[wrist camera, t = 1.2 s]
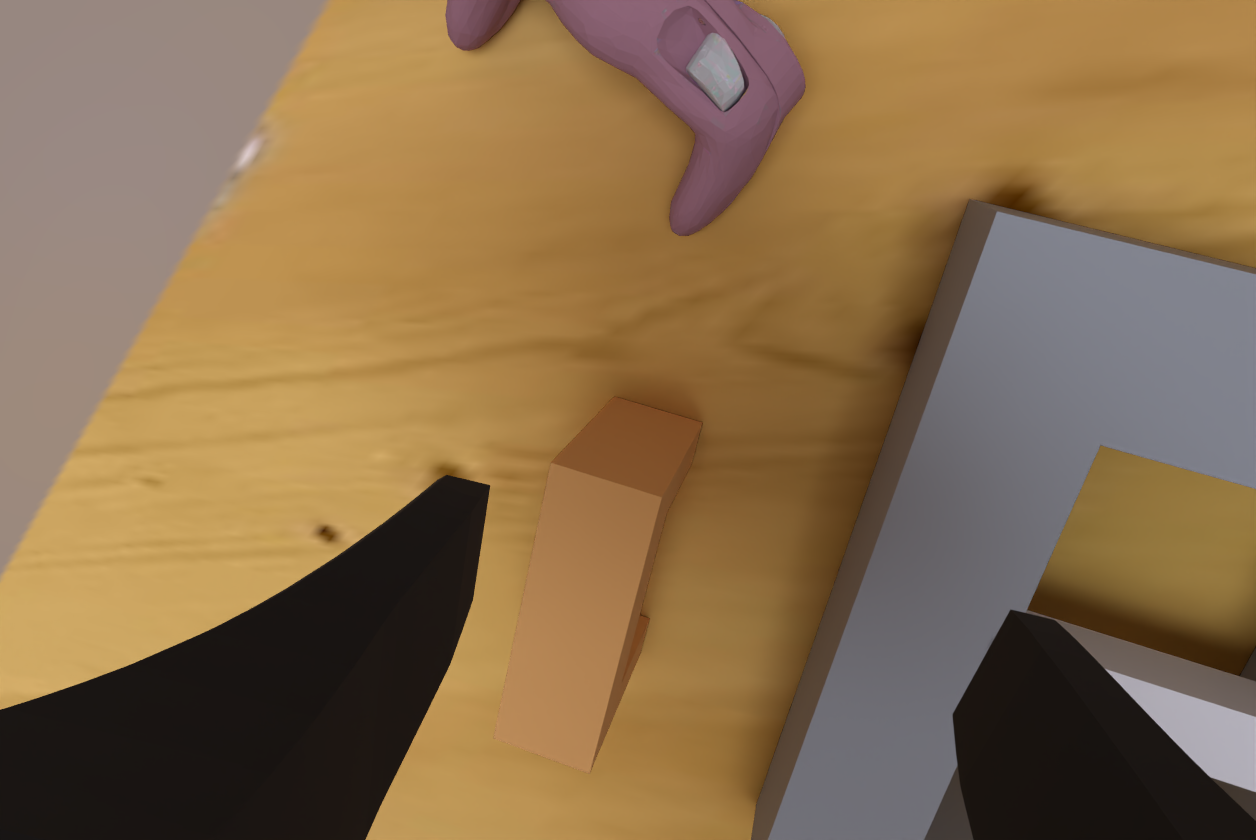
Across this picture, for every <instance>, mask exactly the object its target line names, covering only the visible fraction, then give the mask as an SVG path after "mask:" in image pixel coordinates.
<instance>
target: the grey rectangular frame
mask: <svg viewBox="0 0 1256 840" xmlns="http://www.w3.org/2000/svg"><path fill="white" fill-rule="evenodd" d="M1100 445H1101V446H1105V447H1108V448H1112V449H1116V450H1119V451H1123V452H1126V453H1130V454H1133V455H1137V456H1141V457H1144V458H1148V459H1151V460H1155V461H1158V462H1162V463H1166V464H1169V465H1173V466H1176V467H1180V468H1183V469H1187V470H1191V471H1194V472H1198V473H1201V474H1205V475H1208V476H1212V477H1216V478H1219V479H1223V480H1226V481H1230V482H1233V483H1237V484H1241V485H1244V486H1248V487H1251V488H1255V489H1256V268H1253V267H1249V266H1244V265H1240V264H1236V263H1232V262H1228V261H1224V260H1220V259H1216V258H1212V257H1207V256H1203V255H1199V254H1195V253H1191V252H1187V251H1183V250H1179V249H1174V248H1170V247H1166V246H1162V245H1158V244H1154V243H1150V242H1146V241H1141V240H1137V239H1133V238H1129V237H1125V236H1121V235H1117V234H1113V233H1108V232H1104V231H1100V230H1096V229H1092V228H1088V227H1084V226H1080V225H1076V224H1071V223H1067V222H1063V221H1059V220H1055V219H1051V218H1047V217H1043V216H1038V215H1034V214H1030V213H1026V212H1022V211H1018V210H1014V209H1010V208H1005V207H1001V206H997V205H993V204H989V203H985V202H981V201H977V200H972V199H969V202H968V205H967V208H966V211H965V213H964V216H963V219H962V222H961V225H960V228H959V231H958V233H957V236H956V239H955V242H954V245H953V248H952V250H951V253H950V256H949V259H948V262H947V265H946V267H945V270H944V273H943V276H942V279H941V282H940V284H939V287H938V290H937V293H936V296H935V299H934V302H933V304H932V307H931V310H930V313H929V316H928V319H927V321H926V324H925V327H924V330H923V333H922V336H921V338H920V341H919V344H918V347H917V350H916V353H915V356H914V358H913V361H912V364H911V367H910V370H909V373H908V375H907V378H906V381H905V384H904V387H903V390H902V392H901V395H900V398H899V401H898V404H897V407H896V409H895V412H894V415H893V418H892V421H891V424H890V427H889V429H888V432H887V435H886V438H885V441H884V444H883V446H882V449H881V452H880V455H879V458H878V461H877V463H876V466H875V469H874V472H873V475H872V478H871V481H870V483H869V486H868V489H867V492H866V495H865V498H864V500H863V503H862V506H861V509H860V512H859V515H858V517H857V520H856V523H855V526H854V529H853V532H852V534H851V537H850V540H849V543H848V546H847V549H846V552H845V554H844V557H843V560H842V563H841V566H840V569H839V571H838V574H837V577H836V580H835V583H834V586H833V588H832V591H831V594H830V597H829V600H828V603H827V606H826V608H825V611H824V614H823V617H822V620H821V623H820V625H819V628H818V631H817V634H816V637H815V640H814V642H813V645H812V648H811V651H810V654H809V657H808V660H807V662H806V665H805V668H804V671H803V674H802V677H801V679H800V682H799V685H798V688H797V691H796V694H795V696H794V699H793V702H792V705H791V708H790V711H789V713H788V716H787V719H786V722H785V725H784V728H783V731H782V733H781V736H780V739H779V742H778V745H777V748H776V750H775V753H774V756H773V759H772V762H771V765H770V767H769V770H768V773H767V776H766V779H765V782H764V785H763V787H762V790H761V793H760V796H759V799H758V802H757V804H756V810H755V817H754V823H753V830H752V837H751V840H973V836H972V832H971V828H970V824H969V820H968V816H967V812H966V808H965V804H964V800H963V795H962V791H961V787H960V780H959V772H958V765H957V757H956V748H955V737H954V727H953V716H952V714H953V712H954V710H955V709H956V707H957V705H958V703H959V701H960V700H961V698H962V696H963V694H964V692H965V691H966V689H967V687H968V685H969V683H970V682H971V680H972V678H973V676H974V674H975V673H976V671H977V669H978V667H979V665H980V664H981V662H982V660H983V658H984V656H985V654H986V653H987V651H988V649H989V647H990V645H991V644H992V642H993V640H994V638H995V636H996V635H997V633H998V631H999V629H1000V627H1001V626H1002V624H1003V622H1004V620H1005V618H1006V617H1007V615H1008V613H1009V611H1010V609H1011V610H1016V611H1020V612H1024V613H1028V614H1032V615H1037V616H1041V617H1045V618H1049V619H1053V620H1056V621H1057V622H1058V623H1059V624H1060V625H1061V626H1062V627H1063V628H1064V629H1066V630H1067V631H1068V632H1069V633H1070V634H1071V635H1072V636H1073V637H1074V638H1075V639H1076V640H1077V641H1078V642H1079V643H1080V644H1081V645H1082V646H1083V647H1084V648H1085V649H1086V650H1087V651H1088V652H1089V653H1090V654H1091V655H1092V656H1093V657H1094V658H1095V659H1096V660H1097V661H1098V662H1099V663H1100V664H1101V665H1102V666H1103V668H1104V669H1105V670H1106V671H1107V672H1108V673H1109V674H1110V675H1111V676H1112V677H1113V678H1114V679H1115V680H1116V681H1117V682H1118V683H1119V684H1120V685H1121V686H1122V687H1123V688H1124V690H1125V691H1126V692H1127V693H1128V694H1129V695H1130V696H1131V697H1132V698H1133V699H1134V700H1135V701H1136V702H1137V703H1138V704H1139V705H1140V706H1141V707H1142V708H1143V709H1144V711H1145V712H1146V713H1147V714H1148V715H1149V716H1150V717H1151V718H1152V719H1153V720H1154V721H1155V722H1156V723H1157V724H1158V725H1159V726H1160V727H1161V728H1162V729H1163V730H1164V731H1165V732H1166V733H1167V734H1168V735H1169V736H1170V737H1171V739H1172V740H1173V741H1174V742H1175V743H1176V744H1177V745H1178V746H1179V747H1180V748H1181V749H1182V750H1183V751H1184V752H1185V753H1186V754H1187V755H1188V756H1189V757H1190V758H1191V759H1192V760H1193V761H1194V762H1195V763H1196V764H1197V765H1198V766H1199V767H1200V768H1201V769H1202V770H1203V771H1204V772H1205V773H1206V774H1207V775H1208V776H1209V777H1210V778H1211V779H1212V780H1213V781H1214V782H1215V783H1217V784H1218V785H1219V786H1220V787H1221V788H1222V789H1223V790H1224V791H1225V792H1226V793H1227V794H1228V795H1229V796H1230V797H1231V798H1232V799H1233V800H1234V801H1235V802H1237V803H1238V804H1239V805H1240V806H1241V807H1242V808H1243V809H1244V810H1245V811H1246V812H1247V813H1248V814H1249V815H1250V816H1251V817H1252V818H1253V819H1254V820H1255V821H1256V648H1255V650H1254V651H1253V653H1252V655H1251V657H1250V659H1249V660H1248V662H1247V664H1246V666H1245V667H1244V669H1243V671H1242V673H1241V674H1240V676H1237V675H1233V674H1230V673H1227V672H1224V671H1221V670H1217V669H1214V668H1211V667H1208V666H1205V665H1201V664H1198V663H1195V662H1192V661H1189V660H1185V659H1182V658H1179V657H1176V656H1173V655H1169V654H1166V653H1163V652H1160V651H1157V650H1153V649H1150V648H1147V647H1144V646H1141V645H1137V644H1134V643H1131V642H1128V641H1125V640H1122V639H1118V638H1115V637H1112V636H1109V635H1106V634H1102V633H1099V632H1096V631H1093V630H1090V629H1086V628H1083V627H1080V626H1077V625H1074V624H1070V623H1067V622H1064V621H1061V620H1058V619H1054V618H1051V617H1048V616H1045V615H1042V614H1038V613H1035V612H1032V611H1029V610H1027V608H1028V606H1029V604H1030V602H1031V599H1032V597H1033V595H1034V593H1035V591H1036V588H1037V586H1038V584H1039V582H1040V579H1041V577H1042V575H1043V573H1044V570H1045V568H1046V566H1047V564H1048V561H1049V559H1050V557H1051V555H1052V553H1053V550H1054V548H1055V546H1056V544H1057V541H1058V539H1059V537H1060V535H1061V532H1062V530H1063V528H1064V526H1065V523H1066V521H1067V519H1068V517H1069V514H1070V512H1071V510H1072V508H1073V506H1074V503H1075V501H1076V499H1077V497H1078V494H1079V492H1080V490H1081V488H1082V485H1083V483H1084V481H1085V479H1086V476H1087V474H1088V472H1089V470H1090V467H1091V465H1092V463H1093V461H1094V459H1095V456H1096V454H1097V452H1098V450H1099V447H1100Z"/></svg>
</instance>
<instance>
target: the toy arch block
mask: <svg viewBox="0 0 1256 840" xmlns="http://www.w3.org/2000/svg"><path fill="white" fill-rule="evenodd" d="M702 424H703V423H702V422H699V421H695V420H692V419H689V418H685V417H682V416H679V415H675V414H672V413H668V412H665V411H662V410H658V409H655V408H652V407H648V406H645V405H641V404H638V403H635V402H631V401H628V400H625V399H621V398H618V397H615V396H614V397H613V398H612V399H611V400H610V401H609V403H608V404H607V405H606V406H605V407H604V408H603V409H602V410H601V411H600V412H599V413H598V414H597V415H596V416H595V417H594V418H593V419H592V420H591V421H590V422H589V423H588V424H587V425H586V426H585V427H584V429H583V430H582V431H581V432H580V433H579V434H578V435H577V436H576V437H575V438H574V439H573V440H572V441H571V442H570V443H569V444H568V445H567V446H566V447H565V448H564V449H563V450H562V451H561V452H560V454H559V455H558V456H557V457H556V458H555V459H554V460H553V461H552V462H551V464H550V469H549V474H548V478H547V483H546V488H545V493H544V498H543V502H542V507H541V512H540V517H539V522H538V526H537V531H536V536H535V541H534V546H533V550H532V555H531V560H530V565H529V569H528V574H527V579H526V584H525V589H524V593H523V598H522V603H521V608H520V613H519V617H518V622H517V627H516V632H515V637H514V641H513V646H512V651H511V656H510V661H509V665H508V670H507V675H506V680H505V685H504V689H503V694H502V699H501V704H500V708H499V713H498V718H497V723H496V728H495V732H494V737H493V738H494V739H497V740H499V741H502V742H505V743H507V744H510V745H513V746H515V747H518V748H521V749H524V750H526V751H529V752H532V753H534V754H537V755H540V756H542V757H545V758H548V759H551V760H553V761H556V762H559V763H561V764H564V765H567V766H569V767H572V768H575V769H578V770H580V771H583V772H586V773H588V774H590V772H591V769H592V767H593V764H594V762H595V760H596V757H597V755H598V753H599V750H600V748H601V745H602V743H603V741H604V738H605V736H606V734H607V731H608V729H609V727H610V724H611V722H612V719H613V717H614V715H615V712H616V710H617V708H618V705H619V703H620V701H621V698H622V696H623V693H624V691H625V689H626V686H627V684H628V682H629V679H630V677H631V674H632V672H633V670H634V667H635V665H636V663H637V660H638V658H639V656H640V653H641V649H642V645H643V642H644V638H645V634H646V631H647V627H648V623H649V620H650V618H647V617H644V616H641V615H640V612H641V608H642V605H643V601H644V597H645V593H646V589H647V586H648V582H649V578H650V574H651V571H652V567H653V563H654V559H655V556H656V552H657V548H658V544H659V541H660V537H661V533H662V529H663V525H664V522H665V518H666V514H667V511H668V509H669V508H670V506H671V504H672V502H673V500H674V498H675V496H676V494H677V492H678V490H679V488H680V486H681V484H682V482H683V480H684V478H685V476H686V474H687V472H688V470H689V468H690V467H691V464H692V461H693V457H694V453H695V450H696V446H697V442H698V439H699V435H700V431H701V427H702Z"/></svg>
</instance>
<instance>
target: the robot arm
mask: <svg viewBox="0 0 1256 840" xmlns="http://www.w3.org/2000/svg"><path fill="white" fill-rule="evenodd" d="M489 490H490V485H487V484H482V483H478V482H474V481H470V480H466V479H461V478H457V477H453V476H449V475H446V476H444V477H442V478H440V479H438V480H437V481H436V482H435V483H433V484H432V485H431V486H430V487H428V488H427V489H426V490H425V491H424V492H422V493H421V494H420V495H419V496H417V497H416V498H415V499H414V500H412V501H411V502H410V503H409V504H407V505H406V506H405V507H404V508H402V509H401V510H400V511H398V512H397V513H396V514H395V515H393V516H392V517H391V518H389V519H388V520H387V521H385V522H384V523H383V524H382V525H380V526H379V527H377V528H376V529H375V530H373V531H372V532H370V533H369V534H368V535H366V536H365V537H363V538H362V539H361V540H359V541H358V542H357V543H355V544H354V545H352V546H351V547H350V548H348V549H347V550H345V551H344V552H343V553H341V554H340V555H338V556H337V557H335V558H334V559H332V560H331V561H329V562H327V563H326V564H324V565H323V566H321V567H320V568H318V569H316V570H315V571H313V572H312V573H310V574H309V575H307V576H305V577H304V578H302V579H301V580H299V581H298V582H296V583H294V584H293V585H291V586H290V587H288V588H286V589H285V590H283V591H281V592H280V593H278V594H276V595H274V596H273V597H271V598H269V599H267V600H266V601H264V602H262V603H260V604H259V605H257V606H255V607H253V608H251V609H250V610H248V611H246V612H244V613H242V614H240V615H238V616H236V617H234V618H232V619H230V620H228V621H227V622H225V623H223V624H221V625H219V626H217V627H215V628H213V629H211V630H209V631H206V632H204V633H202V634H200V635H198V636H196V637H193V638H191V639H189V640H186V641H184V642H182V643H179V644H177V645H175V646H173V647H170V648H168V649H166V650H163V651H161V652H159V653H156V654H154V655H152V656H150V657H147V658H145V659H143V660H140V661H138V662H136V663H133V664H131V665H128V666H126V667H123V668H121V669H118V670H115V671H113V672H110V673H107V674H105V675H102V676H99V677H97V678H94V679H91V680H89V681H86V682H83V683H80V684H77V685H74V686H72V687H69V688H66V689H63V690H60V691H57V692H54V693H51V694H48V695H45V696H42V697H39V698H36V699H33V700H30V701H27V702H24V703H21V704H18V705H14V706H11V707H8V708H5V709H1V710H0V840H365V839H366V837H367V835H368V833H369V830H370V828H371V826H372V824H373V821H374V819H375V817H376V815H377V812H378V810H379V808H380V806H381V804H382V802H383V799H384V797H385V795H386V793H387V791H388V789H389V787H390V785H391V783H392V781H393V779H394V777H395V775H396V773H397V771H398V769H399V767H400V765H401V763H402V761H403V759H404V757H405V755H406V753H407V751H408V749H409V747H410V745H411V743H412V741H413V739H414V737H415V735H416V733H417V731H418V729H419V727H420V725H421V723H422V721H423V719H424V717H425V715H426V713H427V711H428V709H429V707H430V704H431V702H432V700H433V698H434V696H435V694H436V692H437V690H438V688H439V686H440V684H441V682H442V680H443V678H444V676H445V674H446V672H447V670H448V667H449V665H450V663H451V660H452V658H453V655H454V652H455V649H456V647H457V644H458V641H459V638H460V635H461V633H462V630H463V627H464V624H465V621H466V618H467V615H468V612H469V610H470V607H471V604H472V601H473V596H474V589H475V582H476V576H477V569H478V563H479V556H480V549H481V543H482V536H483V530H484V523H485V516H486V510H487V503H488V497H489ZM952 716H953V727H954V737H955V748H956V757H957V765H958V772H959V780H960V787H961V791H962V795H963V800H964V804H965V808H966V812H967V816H968V820H969V824H970V828H971V832H972V836H973V840H1256V821H1255V820H1254V819H1253V818H1252V817H1251V816H1250V815H1249V814H1248V813H1247V812H1246V811H1245V810H1244V809H1243V808H1242V807H1241V806H1240V805H1239V804H1238V803H1237V802H1235V801H1234V800H1233V799H1232V798H1231V797H1230V796H1229V795H1228V794H1227V793H1226V792H1225V791H1224V790H1223V789H1222V788H1221V787H1220V786H1219V785H1218V784H1217V783H1215V782H1214V781H1213V780H1212V779H1211V778H1210V777H1209V776H1208V775H1207V774H1206V773H1205V772H1204V771H1203V770H1202V769H1201V768H1200V767H1199V766H1198V765H1197V764H1196V763H1195V762H1194V761H1193V760H1192V759H1191V758H1190V757H1189V756H1188V755H1187V754H1186V753H1185V752H1184V751H1183V750H1182V749H1181V748H1180V747H1179V746H1178V745H1177V744H1176V743H1175V742H1174V741H1173V740H1172V739H1171V737H1170V736H1169V735H1168V734H1167V733H1166V732H1165V731H1164V730H1163V729H1162V728H1161V727H1160V726H1159V725H1158V724H1157V723H1156V722H1155V721H1154V720H1153V719H1152V718H1151V717H1150V716H1149V715H1148V714H1147V713H1146V712H1145V711H1144V709H1143V708H1142V707H1141V706H1140V705H1139V704H1138V703H1137V702H1136V701H1135V700H1134V699H1133V698H1132V697H1131V696H1130V695H1129V694H1128V693H1127V692H1126V691H1125V690H1124V688H1123V687H1122V686H1121V685H1120V684H1119V683H1118V682H1117V681H1116V680H1115V679H1114V678H1113V677H1112V676H1111V675H1110V674H1109V673H1108V672H1107V671H1106V670H1105V669H1104V668H1103V666H1102V665H1101V664H1100V663H1099V662H1098V661H1097V660H1096V659H1095V658H1094V657H1093V656H1092V655H1091V654H1090V653H1089V652H1088V651H1087V650H1086V649H1085V648H1084V647H1083V646H1082V645H1081V644H1080V643H1079V642H1078V641H1077V640H1076V639H1075V638H1074V637H1073V636H1072V635H1071V634H1070V633H1069V632H1068V631H1067V630H1066V629H1064V628H1063V627H1062V626H1061V625H1060V624H1059V623H1058V622H1057V621H1056V620H1053V619H1049V618H1045V617H1041V616H1037V615H1032V614H1028V613H1024V612H1020V611H1016V610H1011V609H1010V611H1009V613H1008V615H1007V617H1006V618H1005V620H1004V622H1003V624H1002V626H1001V627H1000V629H999V631H998V633H997V635H996V636H995V638H994V640H993V642H992V644H991V645H990V647H989V649H988V651H987V653H986V654H985V656H984V658H983V660H982V662H981V664H980V665H979V667H978V669H977V671H976V673H975V674H974V676H973V678H972V680H971V682H970V683H969V685H968V687H967V689H966V691H965V692H964V694H963V696H962V698H961V700H960V701H959V703H958V705H957V707H956V709H955V710H954V712H953V714H952Z"/></svg>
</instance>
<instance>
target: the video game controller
mask: <svg viewBox="0 0 1256 840" xmlns="http://www.w3.org/2000/svg"><path fill="white" fill-rule="evenodd" d="M546 1H547V2H548V3H549V4H550V5H551V7H552V8H553V10H554V11H555V13H556V14H557V16H558V17H559V19H560V20H561V22H562V23H563V25H564V26H565V27H566V28H567V29H568V31H569V32H570V33H571V34H572V35H573V36H574V38H575V39H576V40H577V41H578V42H579V43H580V44H581V45H582V46H583V47H585V48H586V49H587V50H588V51H589V52H590V53H591V54H592V55H594V56H596V57H597V58H599V59H601V60H603V61H605V62H607V63H608V64H610V65H612V66H614V67H616V68H618V69H620V70H622V71H624V72H626V73H628V74H630V75H632V76H634V77H636V78H637V79H638V80H639V81H640V82H641V83H642V84H643V85H644V86H645V87H647V88H648V89H649V90H650V91H651V92H652V93H653V94H654V95H655V96H656V97H657V98H658V99H659V100H660V101H661V102H663V103H664V104H665V105H666V106H667V107H668V108H669V109H670V110H671V111H673V112H674V113H675V114H676V115H677V116H678V117H679V118H681V119H682V120H683V121H684V122H685V123H686V124H687V125H689V126H690V128H691V129H692V130H693V131H694V133H695V144H694V148H693V151H692V155H691V158H690V162H689V164H688V167H687V169H686V171H685V173H684V175H683V177H682V180H681V182H680V184H679V186H678V188H677V190H676V192H675V195H674V197H673V199H672V201H671V208H670V217H669V218H670V226H671V229H672V231H673V232H674V233H676V234H678V235H679V236H689V235H691V234H693V233H695V232H698V231H699V230H701V229H702V228H704V227H705V226H706V225H708V224H709V223H711V222H712V221H713V220H714V219H715V218H716V217H717V216H718V215H719V214H721V213H722V212H723V211H724V210H725V209H726V208H727V207H728V206H729V205H730V204H731V203H732V201H733V200H734V199H735V198H736V196H737V195H738V194H739V192H740V191H741V190H742V188H743V187H744V186H745V185H746V184H747V183H748V181H749V180H750V179H751V177H752V176H753V174H754V173H755V171H756V169H757V167H758V166H759V164H760V162H761V160H762V159H763V156H764V155H765V153H766V151H767V149H768V147H769V145H770V143H771V142H772V140H773V138H774V136H775V134H776V132H777V130H778V129H779V127H780V125H781V123H782V121H783V119H784V117H785V116H786V115H787V114H788V113H789V112H790V110H791V109H792V108H793V107H794V106H795V105H796V103H797V102H798V101H799V100H800V99H801V98H802V96H803V94H804V91H805V78H804V74H803V71H802V68H801V66H800V64H799V62H798V60H797V58H796V56H795V55H794V53H793V51H792V50H791V48H790V46H789V44H788V43H787V41H786V39H785V37H784V34H783V33H782V31H781V30H780V28H779V27H778V25H776V24H775V23H774V22H773V21H772V20H771V19H770V18H767V17H766V16H763V15H761V14H759V13H757V12H756V11H754V10H753V9H751V8H750V7H748V6H747V5H746V4H744V3H742V2H740V1H737V0H546ZM519 2H520V0H448V1H447V8H446V22H447V29H448V35H449V37H450V39H451V41H452V42H453V43H454V45H455V46H456V47H458V48H460V49H462V50H467V51H469V50H473V49H476V48H479V47H480V46H481V45H482V44H484V43H485V42H486V41H487V40H488V39H489V38H490V37H492V36H493V35H494V34H495V33H496V32H498V31H499V30H500V28H501V27H502V26H503V25H504V24H505V22H506V21H507V20H508V19H509V17H510V16H511V15H512V14H513V12H514V10H515V9H516V7H517V5H518V4H519Z"/></svg>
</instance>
